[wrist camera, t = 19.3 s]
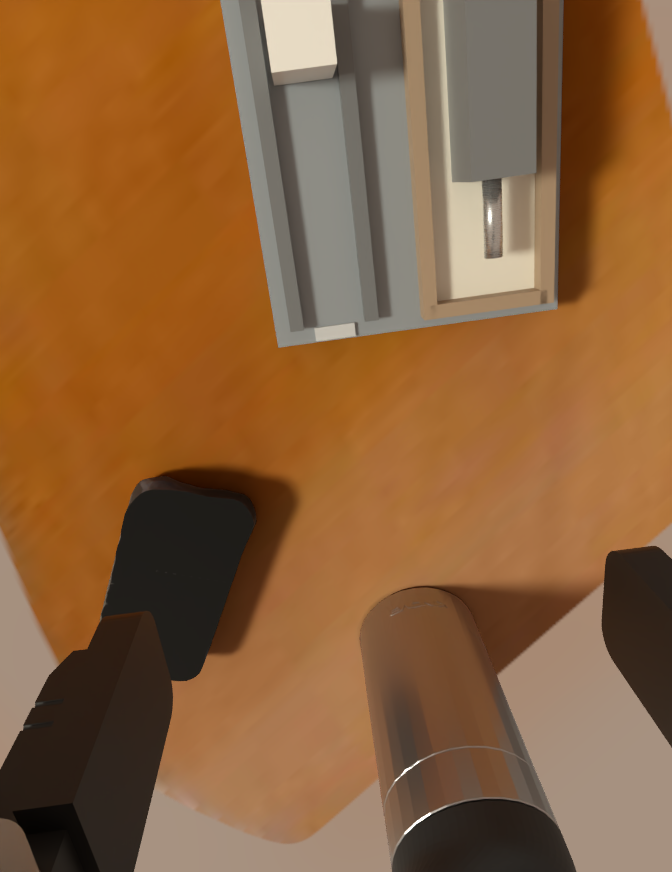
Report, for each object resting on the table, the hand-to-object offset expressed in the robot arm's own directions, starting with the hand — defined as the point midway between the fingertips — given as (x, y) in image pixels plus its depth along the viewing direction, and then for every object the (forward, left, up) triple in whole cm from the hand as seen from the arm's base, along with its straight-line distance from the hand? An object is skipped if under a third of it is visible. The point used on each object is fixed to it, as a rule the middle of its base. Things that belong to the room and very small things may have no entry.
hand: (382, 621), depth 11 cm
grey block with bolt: (+9, -10, -27) cm, 30 cm away
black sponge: (-17, +13, -30) cm, 37 cm away
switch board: (+8, -6, -29) cm, 31 cm away
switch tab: (+13, -1, -27) cm, 30 cm away
